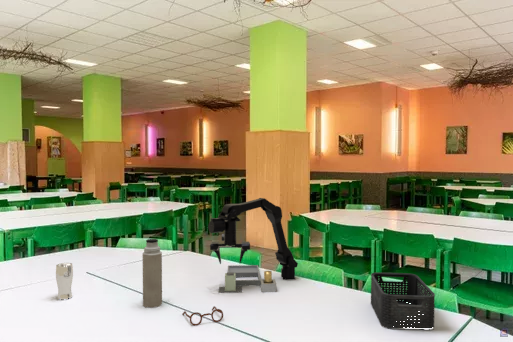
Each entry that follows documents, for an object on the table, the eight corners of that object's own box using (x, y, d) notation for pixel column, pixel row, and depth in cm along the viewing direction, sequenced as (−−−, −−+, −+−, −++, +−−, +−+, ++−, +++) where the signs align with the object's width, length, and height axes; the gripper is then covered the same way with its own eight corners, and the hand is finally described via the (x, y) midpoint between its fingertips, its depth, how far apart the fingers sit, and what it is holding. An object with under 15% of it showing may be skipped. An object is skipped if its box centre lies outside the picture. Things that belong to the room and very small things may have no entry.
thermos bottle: (149, 300, 183) (149, 237, 182) (165, 302, 181) (165, 238, 180) (139, 306, 176) (138, 240, 175) (155, 308, 173) (154, 241, 172)
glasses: (190, 327, 155) (190, 314, 155) (181, 315, 167) (181, 303, 167) (223, 321, 160) (223, 309, 160) (213, 310, 172) (213, 298, 172)
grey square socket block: (274, 287, 202) (274, 279, 201) (276, 291, 195) (276, 283, 194) (260, 287, 201) (260, 279, 201) (261, 292, 194) (261, 284, 194)
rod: (269, 286, 201) (269, 270, 200) (273, 288, 197) (272, 272, 197) (263, 287, 199) (262, 271, 198) (266, 290, 196) (266, 273, 195)
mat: (241, 286, 202) (241, 286, 202) (242, 292, 194) (242, 291, 194) (219, 287, 201) (219, 286, 201) (218, 292, 193) (218, 292, 193)
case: (258, 268, 235) (258, 264, 235) (261, 285, 204) (261, 280, 204) (227, 269, 234) (227, 264, 234) (226, 285, 204) (226, 280, 203)
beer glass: (76, 296, 188) (76, 263, 187) (63, 301, 182) (63, 267, 181) (65, 294, 191) (65, 262, 190) (52, 299, 185) (52, 265, 184)
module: (235, 287, 200) (235, 271, 200) (235, 290, 195) (235, 274, 195) (225, 287, 200) (225, 271, 200) (224, 290, 195) (224, 274, 195)
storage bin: (437, 331, 151) (437, 295, 150) (382, 329, 153) (382, 293, 152) (415, 304, 179) (415, 273, 179) (369, 302, 181) (369, 272, 181)
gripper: (249, 228, 205) (249, 259, 206) (211, 228, 204) (211, 259, 205) (250, 232, 194) (250, 265, 195) (210, 232, 193) (210, 265, 194)
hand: (230, 263), depth 197 cm, fingers open, 9 cm apart
